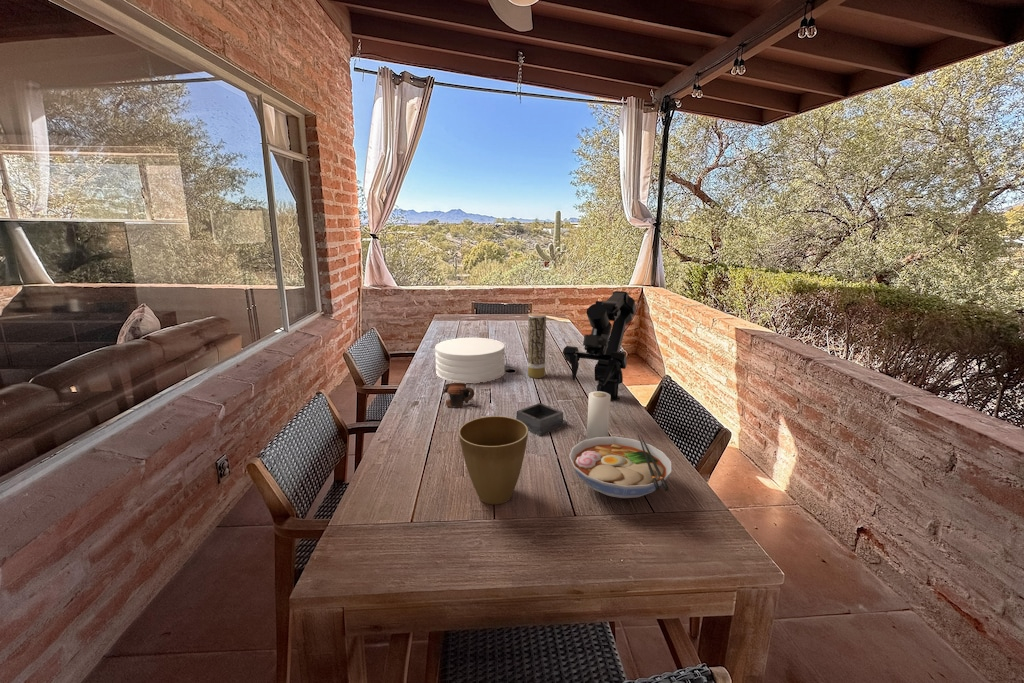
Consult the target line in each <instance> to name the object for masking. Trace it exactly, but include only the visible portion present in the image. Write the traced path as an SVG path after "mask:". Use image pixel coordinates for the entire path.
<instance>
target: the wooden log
mask: <svg viewBox="0 0 1024 683" xmlns="http://www.w3.org/2000/svg"><path fill="white" fill-rule="evenodd" d="M527 324H528V327H527V328H528V330H527V331H528V333H527V335H528V336H527V337H528V339H527V340H528V341H527V375H528V377H530V378H532V379H540V378H543V377H545V375H546V374H545V373H546V338H547V336H546V335H547V333H546V332H547V331H546V330H547V314H546V313H541V312H536V313H535V312H533V313H532V312H531V313H529V314H528V323H527Z"/></svg>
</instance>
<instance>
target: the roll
mask: <svg viewBox="0 0 1024 683" xmlns="http://www.w3.org/2000/svg"><path fill="white" fill-rule="evenodd" d="M610 399H611V395H610V394H609V393H606V392H601V391H597V390H596V391H595V390H594V391H591V392H588V403H587V404H588V406H587V407H588V408H587V420H586V421H587V422H586V424H587V425H586V427H587V428H586V440H588V439H592V438H596V437H609V430H610V412H611V400H610Z"/></svg>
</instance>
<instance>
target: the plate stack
mask: <svg viewBox="0 0 1024 683" xmlns="http://www.w3.org/2000/svg"><path fill="white" fill-rule="evenodd" d="M505 348H506V347H505V344H504V343H503V342H502V341H499V340H496V339H492V338H487V337H486V338H485V337H459V338H452V339H447V340H443V341H440V342H438V343H437V344H435V346H434V350H435V352H434V353H435V354H434V356H435V369H436V370H435V374H437V375H436V377H437V376H438V377H440V378H442V379H445V380H448V381H453V382H459V383H473V384H481V383H480V382H483V383H488V382H487V381H489V382H492V381H491V380H493V381H496V380H497V379H500V378H502V377H503V376H504V374H505V366H506V365H505V354H506V352H505ZM501 376H502V377H501ZM438 377H437V378H438ZM440 378H439V379H440ZM442 379H441V380H442ZM495 379H496V380H495ZM448 381H447V382H448ZM453 382H452V383H453Z"/></svg>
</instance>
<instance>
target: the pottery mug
mask: <svg viewBox="0 0 1024 683" xmlns="http://www.w3.org/2000/svg"><path fill="white" fill-rule="evenodd" d="M445 393H447V394H448V395H449V399H448V400H445V406H446V407H447V406H450V407H449V408H451V407H454V408H455V407H456V408H458V407H459V408H461V407H460V406H463V407H464V403H465V404H468V403H469V402H470V401H471V400H472V399H473V398H474V397H475V391H474V389H473V387H468V386H467V384H465V383H453V382H449V383H446V384H444V389H443V391H442V395H444V394H445Z"/></svg>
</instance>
